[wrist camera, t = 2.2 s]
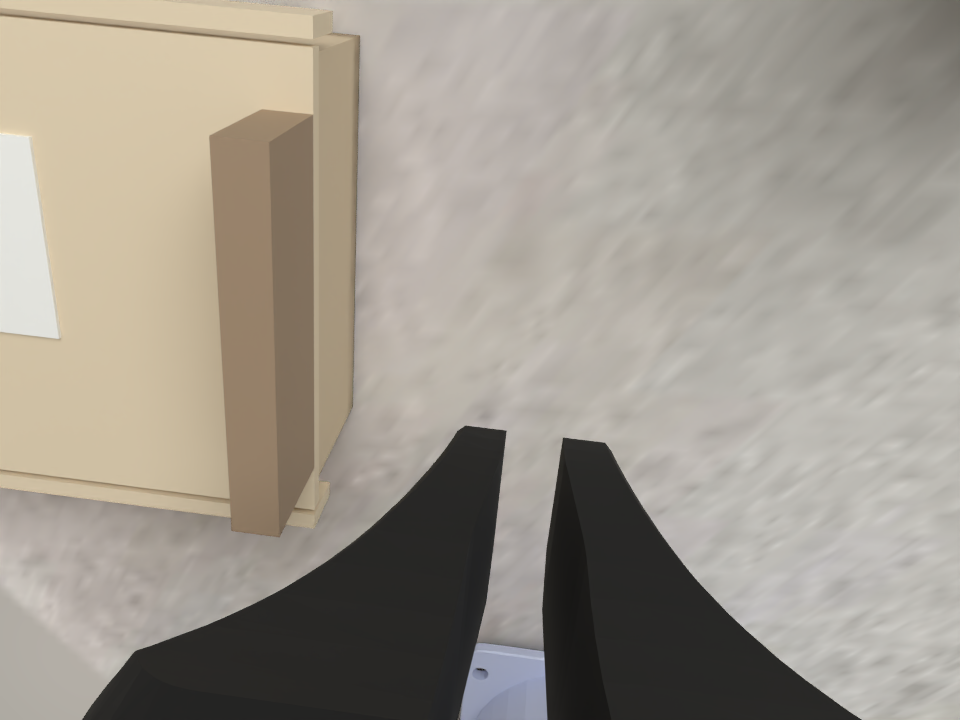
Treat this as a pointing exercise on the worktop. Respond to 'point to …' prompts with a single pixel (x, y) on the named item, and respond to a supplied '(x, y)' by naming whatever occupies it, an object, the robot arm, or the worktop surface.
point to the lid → (162, 258)
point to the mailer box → (333, 208)
